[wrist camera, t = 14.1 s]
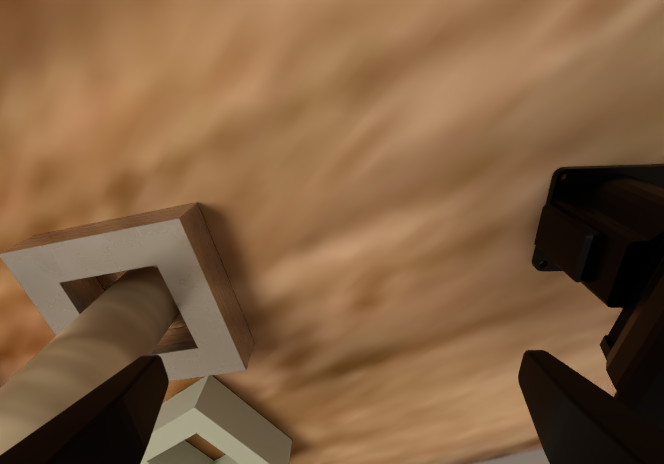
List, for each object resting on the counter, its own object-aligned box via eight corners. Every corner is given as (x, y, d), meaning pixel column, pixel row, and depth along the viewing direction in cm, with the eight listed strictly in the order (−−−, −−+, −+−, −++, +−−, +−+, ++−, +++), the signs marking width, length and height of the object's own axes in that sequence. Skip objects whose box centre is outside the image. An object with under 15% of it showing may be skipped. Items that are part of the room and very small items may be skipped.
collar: (209, 373, 27) (194, 407, 24) (292, 440, 30) (287, 476, 27) (132, 422, 30) (110, 457, 27) (214, 478, 33) (203, 514, 30)
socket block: (197, 202, 21) (179, 218, 19) (254, 344, 26) (246, 370, 23) (33, 235, 22) (-2, 254, 20) (116, 363, 27) (95, 390, 25)
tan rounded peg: (168, 260, 23) (-20, 464, 11) (194, 314, 25) (56, 536, 13) (108, 271, 23) (-134, 476, 12) (137, 323, 25) (-45, 545, 13)
